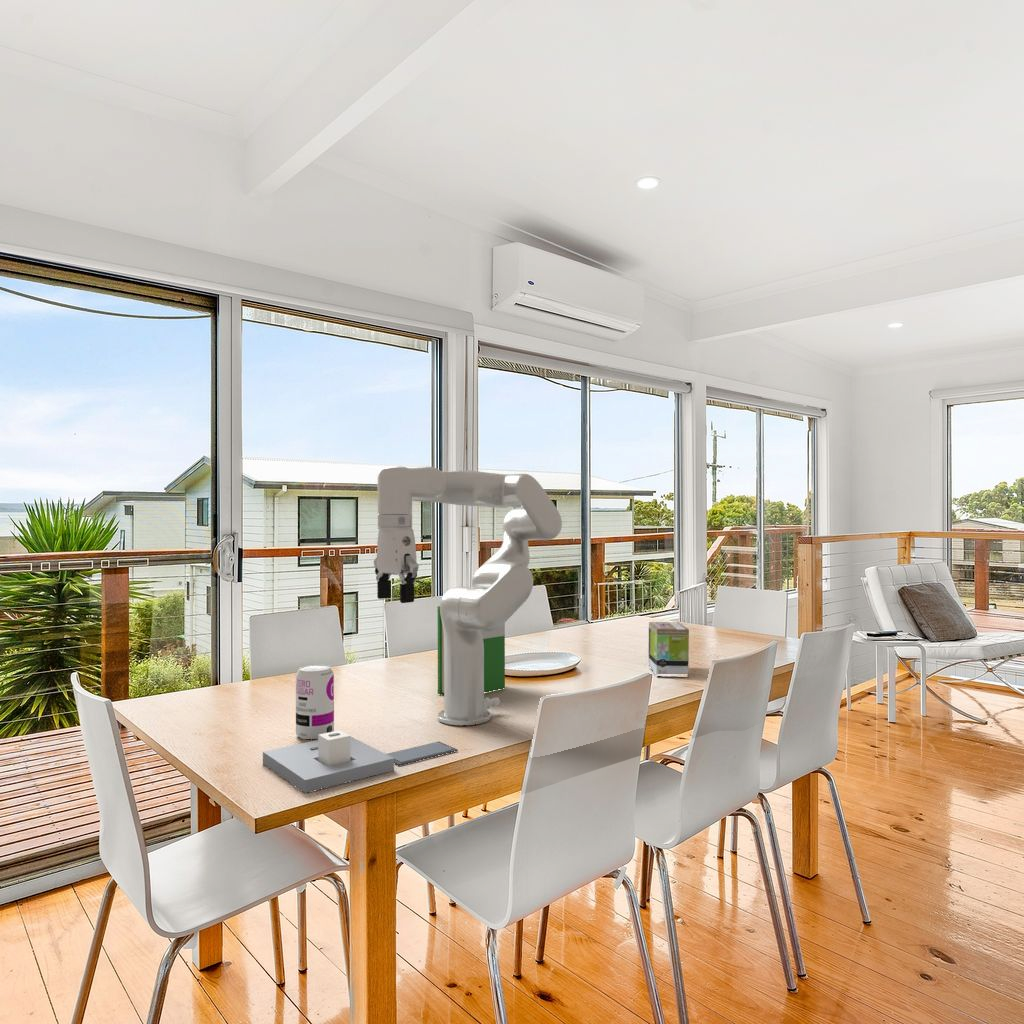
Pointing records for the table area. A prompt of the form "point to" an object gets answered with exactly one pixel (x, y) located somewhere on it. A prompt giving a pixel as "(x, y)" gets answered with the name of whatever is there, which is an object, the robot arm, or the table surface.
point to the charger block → (333, 748)
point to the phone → (420, 753)
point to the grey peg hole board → (312, 775)
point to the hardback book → (492, 657)
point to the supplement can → (314, 701)
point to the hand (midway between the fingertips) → (395, 600)
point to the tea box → (668, 648)
